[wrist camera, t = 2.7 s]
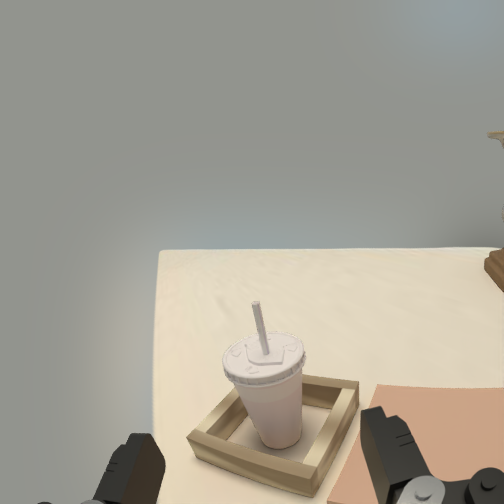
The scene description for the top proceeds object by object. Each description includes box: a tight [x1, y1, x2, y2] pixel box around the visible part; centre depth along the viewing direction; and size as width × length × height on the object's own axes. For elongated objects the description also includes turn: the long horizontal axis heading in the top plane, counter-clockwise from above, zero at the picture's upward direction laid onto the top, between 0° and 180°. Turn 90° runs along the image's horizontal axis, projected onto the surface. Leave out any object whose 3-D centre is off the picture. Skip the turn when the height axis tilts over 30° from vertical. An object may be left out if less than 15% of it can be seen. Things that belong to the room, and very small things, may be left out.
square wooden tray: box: [186, 374, 359, 498], centre depth 26 cm, size 11×11×3 cm
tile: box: [327, 384, 504, 504], centre depth 19 cm, size 14×14×1 cm
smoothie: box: [222, 301, 306, 449], centre depth 25 cm, size 6×6×14 cm
